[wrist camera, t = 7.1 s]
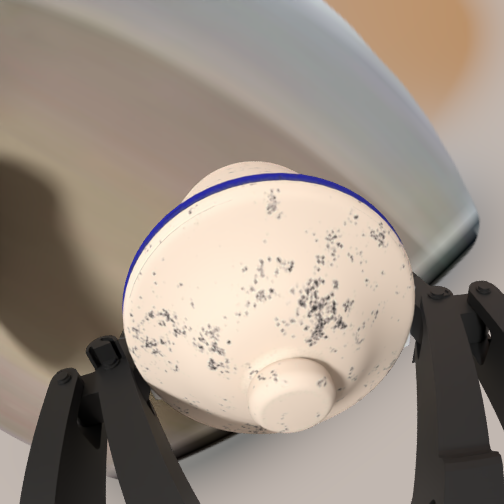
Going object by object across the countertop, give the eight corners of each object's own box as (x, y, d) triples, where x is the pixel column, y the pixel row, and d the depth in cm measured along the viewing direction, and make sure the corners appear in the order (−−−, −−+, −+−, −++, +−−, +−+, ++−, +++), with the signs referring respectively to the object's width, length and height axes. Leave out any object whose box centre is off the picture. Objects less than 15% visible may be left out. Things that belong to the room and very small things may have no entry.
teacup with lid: (138, 210, 16) (10, 337, 5) (290, 126, 15) (428, 106, 4) (244, 364, 20) (260, 526, 9) (367, 304, 19) (464, 441, 8)
